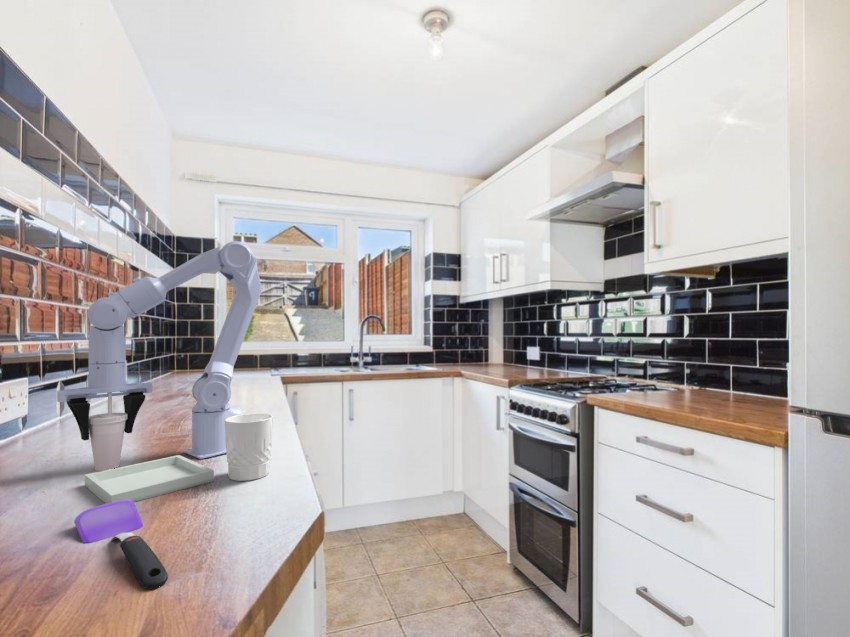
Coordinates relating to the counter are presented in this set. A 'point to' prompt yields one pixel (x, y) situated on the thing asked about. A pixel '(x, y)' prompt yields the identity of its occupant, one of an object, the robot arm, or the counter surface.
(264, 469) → the white cup
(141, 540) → the spatula
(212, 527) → the counter surface
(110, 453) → the smoothie
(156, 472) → the tray
